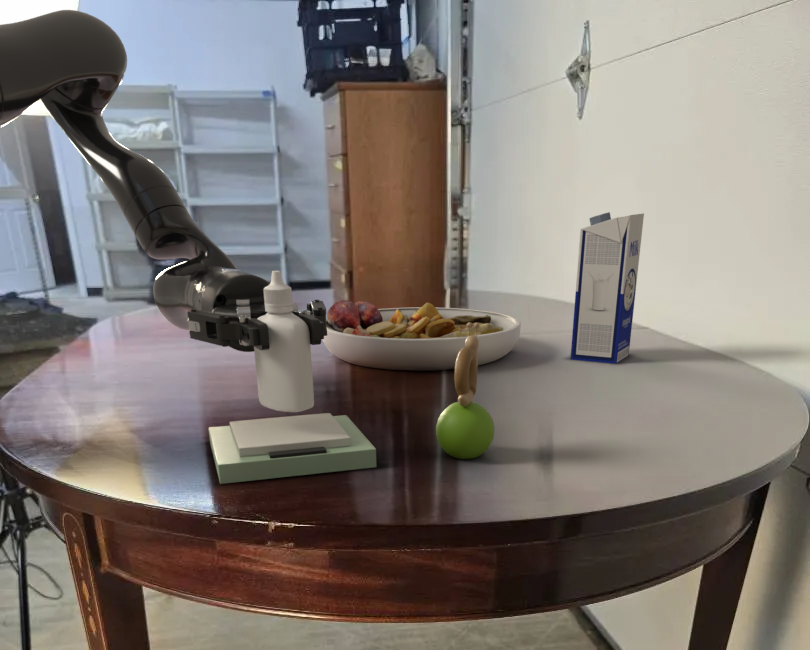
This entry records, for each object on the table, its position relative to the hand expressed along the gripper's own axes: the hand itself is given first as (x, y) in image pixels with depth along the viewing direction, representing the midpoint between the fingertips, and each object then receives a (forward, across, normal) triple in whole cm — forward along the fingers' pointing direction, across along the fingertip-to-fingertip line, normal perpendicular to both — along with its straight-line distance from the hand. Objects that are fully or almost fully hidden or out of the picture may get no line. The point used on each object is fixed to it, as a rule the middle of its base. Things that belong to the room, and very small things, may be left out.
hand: (291, 335), depth 67 cm
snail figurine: (+5, +15, +12) cm, 20 cm away
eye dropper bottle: (-3, 0, +7) cm, 8 cm away
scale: (-2, 0, +12) cm, 12 cm away
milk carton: (-24, +56, +13) cm, 62 cm away
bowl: (-40, +34, +13) cm, 54 cm away
